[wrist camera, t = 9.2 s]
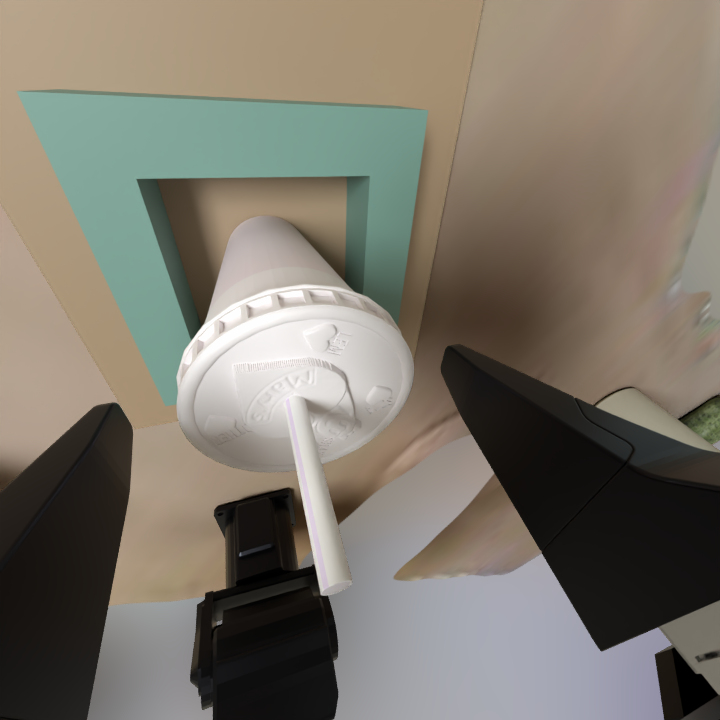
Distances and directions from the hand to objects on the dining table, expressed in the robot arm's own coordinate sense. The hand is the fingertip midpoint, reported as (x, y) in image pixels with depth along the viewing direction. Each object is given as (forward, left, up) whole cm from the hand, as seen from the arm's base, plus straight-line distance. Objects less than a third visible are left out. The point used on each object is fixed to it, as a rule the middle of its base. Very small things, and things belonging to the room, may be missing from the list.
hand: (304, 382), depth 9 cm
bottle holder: (0, 0, -10) cm, 10 cm away
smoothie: (0, 0, -9) cm, 9 cm away
